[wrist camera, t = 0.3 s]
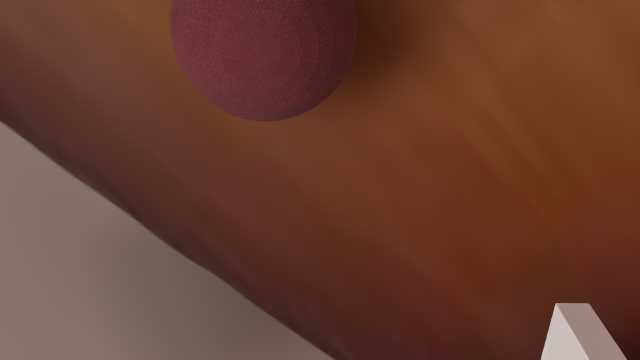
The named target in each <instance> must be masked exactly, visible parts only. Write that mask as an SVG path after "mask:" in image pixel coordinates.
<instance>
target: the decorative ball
mask: <svg viewBox="0 0 640 360" xmlns="http://www.w3.org/2000/svg"><path fill="white" fill-rule="evenodd" d="M170 33H171V38H172V43H173V48H174V52H175V54H176V57H177V59H178V62H179V64H180V66H181V68H182V70H183V72H184V73H185V75H186V76H187V78H188V79H189V81H190V83H191V84H192V85H193V87H194V88H195V89H196V90H197V91H198V92H199V93H200V94H201V95H202V96H203V97H204V98H205V99H207V100H208V101H209V102H211V103H212V104H213V105H215V106H216V107H217V108H219V109H221V110H223V111H225V112H227V113H229V114H231V115H234V116H237V117H241V118H245V119H248V120H256V121H276V120H284V119H287V118H291V117H294V116H298V115H300V114H302V113H304V112H306V111H308V110H310V109H312V108H314V107H315V106H317V105H318V104H319V103H320V102H322V101H323V100H324V99H326V98H327V97H328V96H329V95H330V94H331V93H332V92H333V91H334V90H335V89H336V87H337V86H338V85H339V84H340V83H341V81H342V79H343V78H344V76H345V74H346V73H347V71H348V69H349V67H350V64H351V61H352V59H353V56H354V53H355V48H356V41H357V34H358V23H357V9H356V5H355V1H354V0H173V2H172V7H171V12H170Z"/></svg>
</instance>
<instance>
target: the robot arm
mask: <svg viewBox="0 0 640 360" xmlns="http://www.w3.org/2000/svg"><path fill="white" fill-rule="evenodd" d="M541 360H627V359H626V358H625V356H624V355H623V353H622V352H621V350H620V349H619V347H618V346H617V344H616V343H615V341H614V340H613V338H612V337H611V336H610V334H609V333H608V331H607V330H606V328H605V327H604V325H603V324H602V322H601V321H600V319H599V318H598V316H597V315H596V313H595V312H594V310H593V309H592V308H591V306H590V305H589V304H576V303H556V304H555V308H554V312H553V316H552V320H551V323H550V327H549V331H548V335H547V339H546V342H545V346H544V350H543V354H542V357H541Z"/></svg>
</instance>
